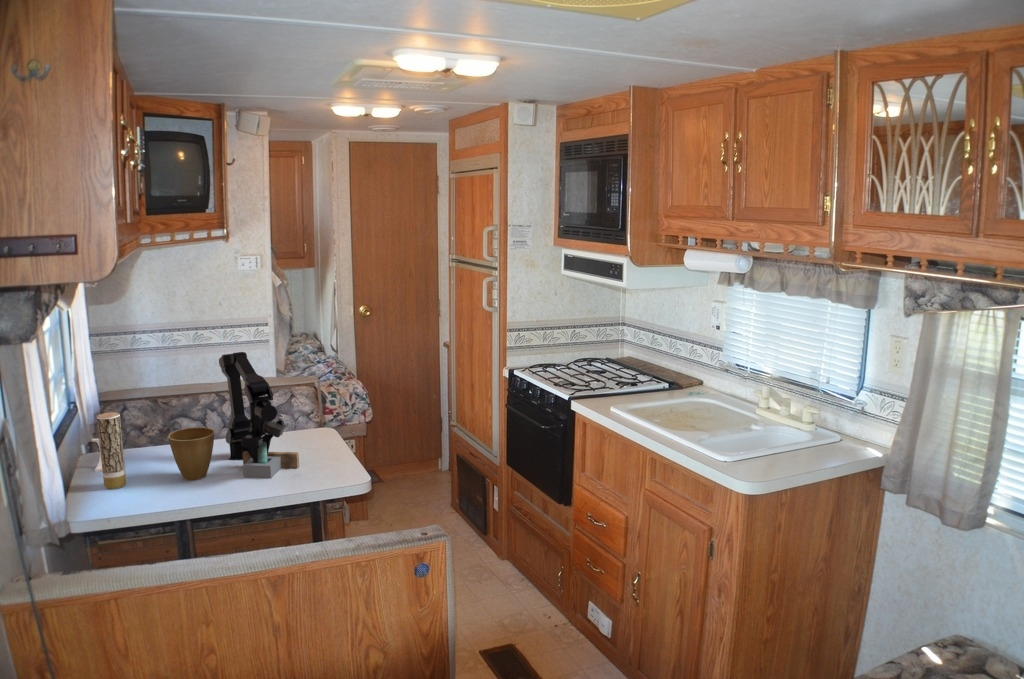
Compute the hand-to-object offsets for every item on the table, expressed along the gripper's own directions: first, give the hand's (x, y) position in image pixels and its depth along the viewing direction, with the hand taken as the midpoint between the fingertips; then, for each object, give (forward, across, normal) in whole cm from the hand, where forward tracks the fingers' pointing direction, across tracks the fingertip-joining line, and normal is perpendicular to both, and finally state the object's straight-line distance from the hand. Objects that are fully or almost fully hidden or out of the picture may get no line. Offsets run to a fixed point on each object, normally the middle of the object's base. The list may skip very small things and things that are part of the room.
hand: (261, 458), depth 274 cm
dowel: (+6, 0, 0) cm, 6 cm away
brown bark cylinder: (+6, -16, +45) cm, 48 cm away
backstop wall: (+6, +6, -1) cm, 8 cm away
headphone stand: (+6, +1, +59) cm, 59 cm away
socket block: (+6, 0, 0) cm, 6 cm away
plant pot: (+6, -6, +22) cm, 23 cm away
